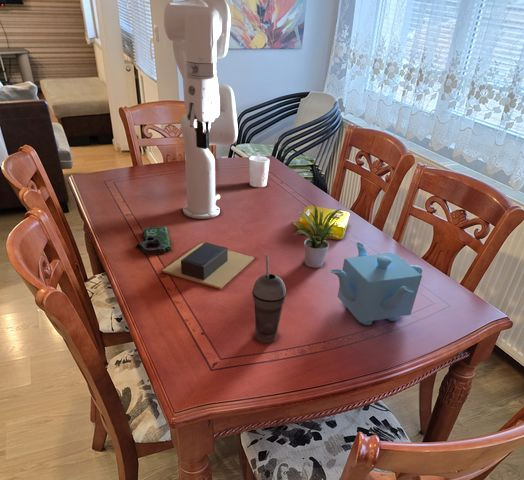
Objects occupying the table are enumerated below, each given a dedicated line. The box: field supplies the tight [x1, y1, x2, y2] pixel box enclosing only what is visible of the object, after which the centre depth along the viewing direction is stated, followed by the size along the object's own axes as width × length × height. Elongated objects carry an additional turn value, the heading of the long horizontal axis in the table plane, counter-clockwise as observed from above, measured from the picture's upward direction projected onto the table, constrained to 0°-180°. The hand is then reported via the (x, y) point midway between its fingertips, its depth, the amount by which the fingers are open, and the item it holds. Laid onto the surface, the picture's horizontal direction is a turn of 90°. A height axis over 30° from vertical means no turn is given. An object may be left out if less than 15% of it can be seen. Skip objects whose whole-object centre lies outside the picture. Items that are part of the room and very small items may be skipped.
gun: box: [135, 225, 172, 255], centre depth 140 cm, size 16×1×10 cm
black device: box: [181, 242, 229, 280], centre depth 127 cm, size 4×7×13 cm
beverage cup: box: [251, 253, 287, 344], centre depth 99 cm, size 7×7×20 cm
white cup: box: [248, 155, 270, 188], centre depth 184 cm, size 8×8×10 cm
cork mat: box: [162, 242, 255, 290], centre depth 131 cm, size 20×18×1 cm
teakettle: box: [329, 242, 423, 326], centre depth 112 cm, size 19×19×15 cm
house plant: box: [290, 204, 342, 269], centre depth 131 cm, size 14×14×16 cm
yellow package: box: [297, 205, 350, 241], centre depth 154 cm, size 15×15×5 cm
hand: (203, 147), depth 128 cm, fingers closed
